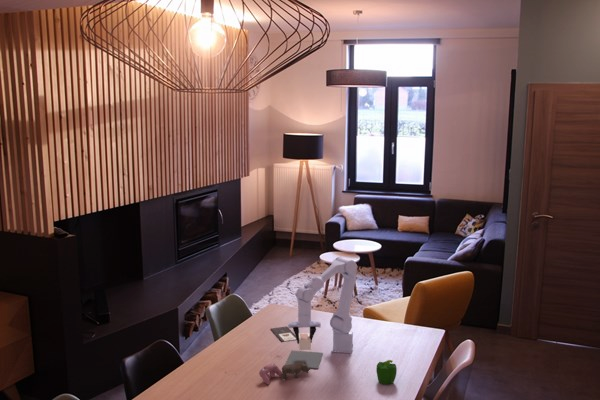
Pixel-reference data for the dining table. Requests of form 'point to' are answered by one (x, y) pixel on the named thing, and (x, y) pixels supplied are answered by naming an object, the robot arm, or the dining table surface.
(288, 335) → the chocolate bar
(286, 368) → the rhino figurine
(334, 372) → the dining table surface
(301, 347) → the card deck
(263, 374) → the pink gorilla figurine
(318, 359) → the charcoal mat
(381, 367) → the bell pepper
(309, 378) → the dining table surface
